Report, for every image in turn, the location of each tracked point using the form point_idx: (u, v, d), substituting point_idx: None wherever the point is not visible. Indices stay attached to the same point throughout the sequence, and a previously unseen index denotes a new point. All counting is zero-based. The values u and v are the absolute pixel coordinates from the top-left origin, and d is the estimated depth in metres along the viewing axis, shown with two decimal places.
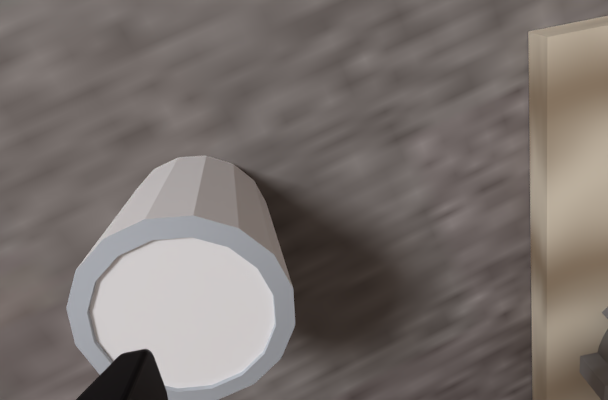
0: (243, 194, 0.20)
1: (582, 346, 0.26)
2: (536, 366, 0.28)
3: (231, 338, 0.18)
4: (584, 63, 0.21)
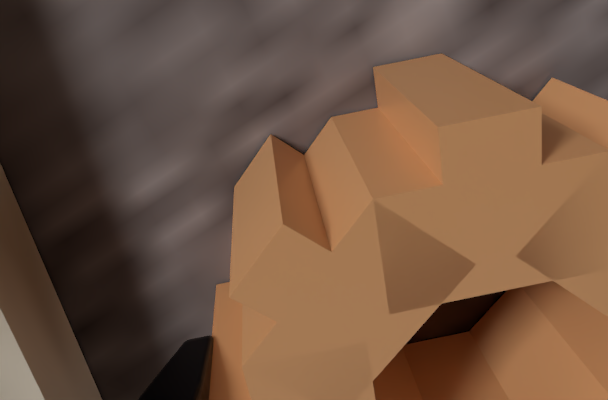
0: None
1: None
2: None
3: None
4: None
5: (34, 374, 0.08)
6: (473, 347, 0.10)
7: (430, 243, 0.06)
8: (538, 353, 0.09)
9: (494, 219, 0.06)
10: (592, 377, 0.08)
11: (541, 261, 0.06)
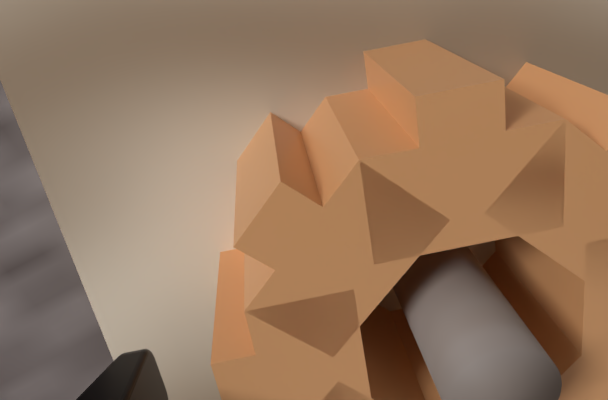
0: None
1: None
2: None
3: None
4: None
5: None
6: None
7: (409, 200, 0.07)
8: None
9: (465, 179, 0.07)
10: (558, 330, 0.08)
11: (507, 218, 0.07)
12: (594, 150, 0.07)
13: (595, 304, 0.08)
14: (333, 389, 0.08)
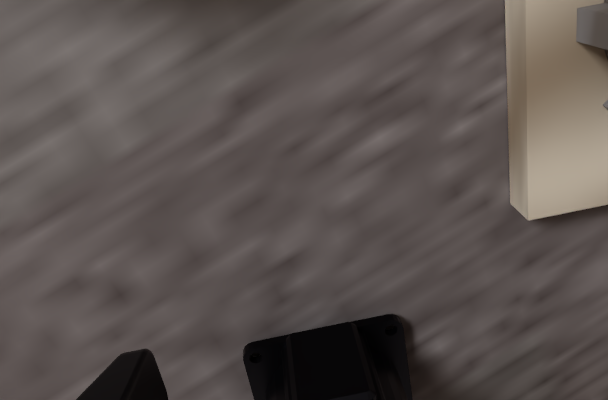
0: None
1: None
2: (512, 49, 0.19)
3: None
4: None
5: None
6: None
7: None
8: None
9: None
10: None
11: None
12: None
13: None
14: None
